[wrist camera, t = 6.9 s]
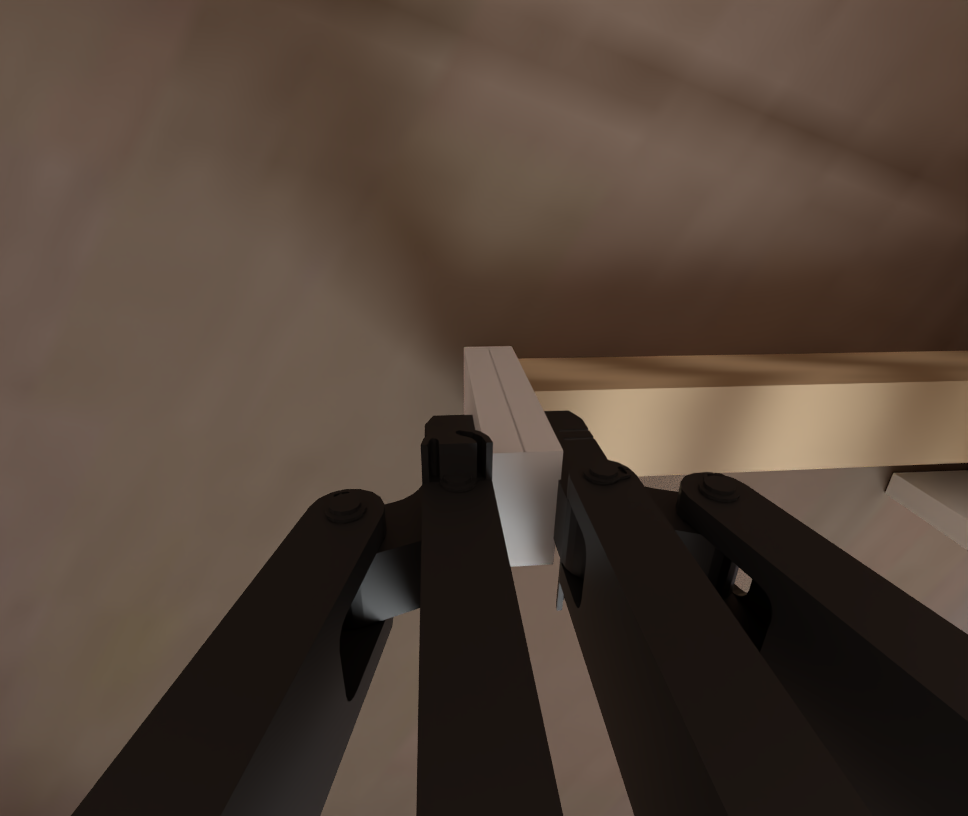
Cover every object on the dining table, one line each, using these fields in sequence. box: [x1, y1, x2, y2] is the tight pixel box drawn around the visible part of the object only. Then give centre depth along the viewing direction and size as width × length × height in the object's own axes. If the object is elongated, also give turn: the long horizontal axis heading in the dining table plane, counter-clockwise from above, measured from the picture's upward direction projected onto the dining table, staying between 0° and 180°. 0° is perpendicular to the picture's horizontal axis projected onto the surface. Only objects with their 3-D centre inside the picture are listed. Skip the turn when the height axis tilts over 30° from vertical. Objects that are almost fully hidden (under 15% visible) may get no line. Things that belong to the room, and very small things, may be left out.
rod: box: [518, 351, 968, 476], centre depth 18 cm, size 25×3×3 cm, turn 89°
